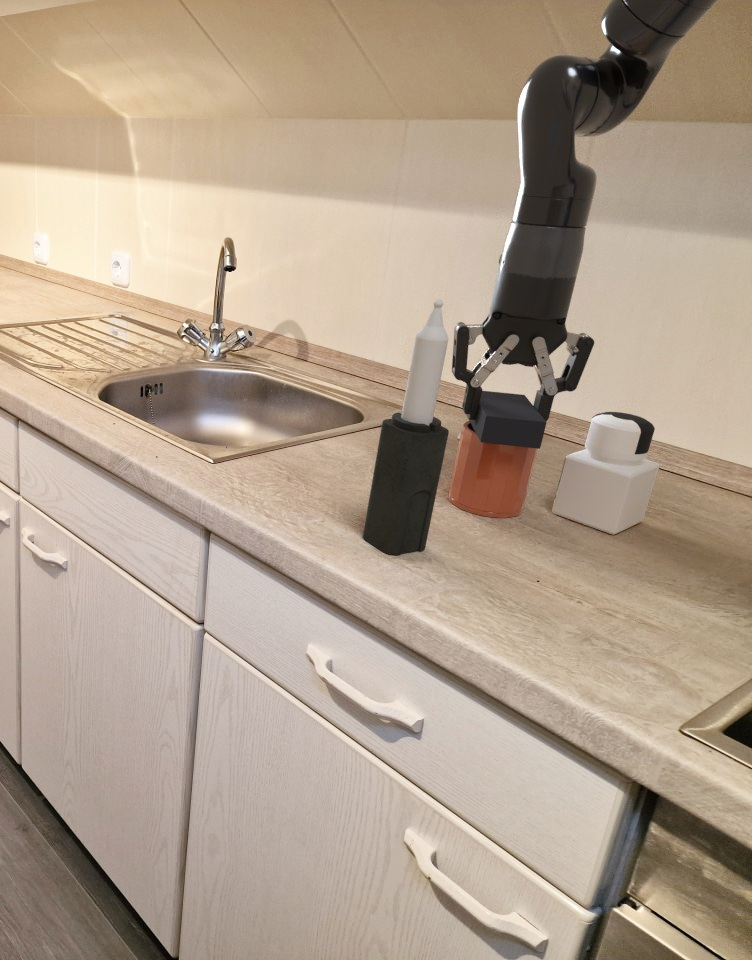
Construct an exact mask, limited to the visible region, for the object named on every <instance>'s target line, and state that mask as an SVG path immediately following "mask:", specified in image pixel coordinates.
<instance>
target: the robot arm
mask: <svg viewBox="0 0 752 960" xmlns="http://www.w3.org/2000/svg"><path fill="white" fill-rule="evenodd" d="M718 1H719V0H610V1H609V2H608V4H607V6H606V7H605V8H604V10H603V12H602V14H601V18H600V28H601V31H602V34H603V36H604V37H605V39H606V41H607V42H608V43H609V45H608V47H607V48H606V49H605V51H603V52H602V54H601V55H600V56H599V57H591V56H589V57H588V56H582V55H573V54H558V55H553V56H550V57H548V58H546V59H544V60H543V61H541V62H540V63H539V64H538V65H536V67H534V69H533V70H532V71H531V73H530V74H529V75H528V77H527V79H526V81H525V83H524V84H523V86H522V89H521V92H520V95H519V99H518V102H517V110H516V131H517V132H516V133H517V152H518V154H517V155H518V157H517V158H518V168H519V169H518V172H519V184H518V188H517V192H516V197H515V202H514V207H513V211H512V216H511V221H510V225H509V228H508V231H507V233H506V236H505V239H504V241H503V242H504V243H503V246H502V250H501V254H500V255H499V258H498V269H497V275H496V279H495V284H494V287H493V288H494V289H493V293H492V296H491V297H492V298H491V302H490V307H489V311H488V315H487V317H486V318H485V320H484V321H483V322H482V323H479V324H477V323H475V324H466V323H465V322H462V321H459V322H457V323H456V324H455V325H454V331H453V342H452V343H453V346H452V361H451V374H453V377H454V378H455V380H457V381H461V382H463V383H465V384H466V386H465V390H464V395H463V399H462V405H461V407H462V411H463V412H464V414H465V415H466V414H467V415H466V417H467V419H468V420H469V419H470V420H476V417H477V412H478V407H479V403H480V398H481V394H482V391H483V388H482V385H483V384H484V382H485V381H486V380H487V379H488V377H489V376H490V375H491V374H492V373H494V372H495V371H496V370H497V368H498V367H499V366H500V364H502V365H506V366H507V365H508V366H512V365H521V366H524V367H529V368H534V370H535V372H536V375H537V378H538V379H537V380H538V382H539V385H540V388H539V389H537V390H536V393H535V397H534V401H533V404H532V405H533V406H534V407H535V409H536V410H537V411H538V412H539V413H540V415H541V416H542V417H543V418H544V420H545V421H546V422H547V423H548V421H549V419H550V415H551V410H552V407H553V403H554V399H555V396H556V395H557V394H560V393H563V392H570V393H571V392H574V391H575V390H576V389H577V388H578V386H579V383H580V381H581V378H582V375H583V373H584V371H585V368H586V366H587V363H588V361H589V358H590V356H591V354H592V350H593V348H594V346H595V340H594V338H592V337H591V336H590V335H589V334H588V333H585V332H581V333H574V332H569V331H568V330H567V327H566V321H567V317H568V314H569V310H570V306H571V301H572V298H573V293H574V288H575V285H576V281H577V276H578V273H579V268H580V265H581V261H582V257H583V252H584V245H585V244H584V243H585V237H586V236H585V235H586V230H587V225H588V221H589V218H590V213H591V208H592V205H593V200H594V196H595V193H596V192H595V191H596V187H597V173H596V171H595V169H594V168H593V167H591V166H590V165H587V164H585V163H583V162H580V161H579V160H578V159H577V155H576V137H580V138H595V137H599V136H603V135H606V134H607V133H609V132H610V131H612V130H614V129H615V128H617V127H618V126H620V125H621V124H622V123H624V122H625V121H626V120H627V119H628V118H629V117H630V116H631V115H632V114H633V113H634V112H635V111H636V109H637V108H638V107H639V105H640V104H641V103H642V101H643V99H644V98H645V96H646V95H647V93H648V91H649V90H650V88H651V86H652V85H653V84H654V82H655V81H656V78H657V77H658V75H659V74H660V72H661V70H662V69H663V67H664V65H665V64H666V62H667V60H668V58H669V56H670V54H671V53H672V51H673V49H674V48H675V47H676V46H677V45H678V43H679V42H680V41H681V40H682V39H684V37H686V35H687V34H689V33H690V31H691V30H692V29H693V28H694V27H695V26H696V25H697V24H698V23H699V22H700V20H701V19H703V17H704V16H705V15H707V13H708V12H709V11H710V10H711V9H712V8H713V7H714V6H715V5H716V4H717V3H718ZM480 335H482V337H483V339H484V341H485V343H486V345H487V346H488V347H487V348H486V350H485V351H484V352H483V353H482V355H481V356H480V357H479V359H478V361H477V363H476V364H475V365H474V367H473V368H472V369H468V358H469V357H468V356H469V346H471V345H473V344H475V342H476V340H477V337H479V336H480ZM564 343H566V351H567V352H568V357H567V360H566V361H565V364H564V367H563V370H562V372H561V374H560V377H556V378H555V374H554V373H555V372H554V368H553V365H552V361H551V358H550V356H551V355H552V354H553V353H554V352H555V351H556V350H557V349H558V348H560V346H562V345H563V344H564Z"/></svg>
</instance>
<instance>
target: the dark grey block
mask: <svg viewBox="0 0 752 960" xmlns="http://www.w3.org/2000/svg"><path fill="white" fill-rule="evenodd" d="M533 405H534V404H533V403H532V402H531V401H530V399H529V398H528V397H527V396H526V395H525V394H520V393H509V392H500V391H490V390H482V394H481V398H480V403H479V407H478V412H477V417H476V420H470V419H468V421H470V423H471V425H472V427H473V429H474V430H475V432H476V434H477V436H478V438H479V440H480V442H483V443H492V444H501V445H510V446H519V447H528V448H537V449H538V450H540V449H541V446H542V443H543V439H544V435H545V431H546V427H547V423H548V421H547V422H546V421H545V420H544V418H543V417H542V416H541V415H540V413H539V412H538V411H537V410H536V409H535V407H534V406H533ZM465 415H466V416H467V414H465Z"/></svg>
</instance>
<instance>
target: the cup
mask: <svg viewBox="0 0 752 960" xmlns="http://www.w3.org/2000/svg"><path fill="white" fill-rule="evenodd" d="M456 450H457V451H456V456H455V460H454V465H453V470H452V475H451V479H450V484H449V489H448V501H449V502H450V503H451V504H452V505H453V506H455V507H457V508H458V509H460V510H463V511H465V512H468V513H470V514H473V515H476V516H477V515H478V516H482V517H488V518H496V519H497V518H498V519H506V518H508V519H509V518H515V517H519V515H520V514H522V513H523V510H524V506H525V504H526V499H527V495H528V490H529V487H530V483H531V479H532V476H533V471H534V467H535V462H536V459H537V455H538V451H539V449H537V448H528V447H519V446H510V445H501V444H492V443H483V442H480V440H479V438H478V436H477V434H476V432H475V430H474V429H473V427H472V425H471V423H470V421H469V420H467V421H465V422H464V423H463V424H462V426H461V431H460V436H459V442H458V445H457V449H456Z"/></svg>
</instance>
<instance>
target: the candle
mask: <svg viewBox="0 0 752 960" xmlns="http://www.w3.org/2000/svg"><path fill="white" fill-rule="evenodd" d="M443 306H444V302H443V300H442V299H440V298H439V299H438V298H437V299H436V300H434V301H433V308H432V311H431V313H430V314H429V316H428V318H427V320H426V322H425V323H424V325H423V326H422V327H421V328H420V329H419V330H418V332H416V334H415V336H414V344H413V349H412V355H411V359H410V365H409V370H408V371H409V372H408V376H407V381H406V388H405V393H404V399H403V404H402V410H401V412H396V413H393V414H392V416H391V418H386V419H383V420H382V423H381V429H380V432H379V438H378V445H377V446H378V447H377V450H376V456H375V457H376V458H375V462H374V468H373V475H372V480H371V485H370V490H369V491H370V492H369V497H368V503H367V509H366V515H365V521H364V526H363V532H362V539H363V540H364V541H366V542H367V543H368V544H370V545H372V546H373V547H375V548H376V549H378V550H379V551H380V552H382V553H384V554H386V555H390V556H401V555H402V554H407V553H415V552H423V551H425V550H426V547H427V542H428V541H427V540H428V536H429V532H430V527H431V521H432V517H433V512H434V507H435V501H436V498H437V492H438V487H439V482H440V479H441V472H442V467H443V462H444V458H445V453H446V447H447V444H448V438H449V434H450V430H449V429H447V427H444V426H442V420H440V419H439V418H438V417H435V416H434V415H435V411H436V406H437V400H438V395H439V391H440V386H441V381H442V380H441V379H442V375H443V369H444V364H445V361H446V360H445V359H446V354H447V350H448V349H447V348H448V343H449V336H448V333H447V330H446V328H445V327H444V320H443V310H442V307H443Z"/></svg>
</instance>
